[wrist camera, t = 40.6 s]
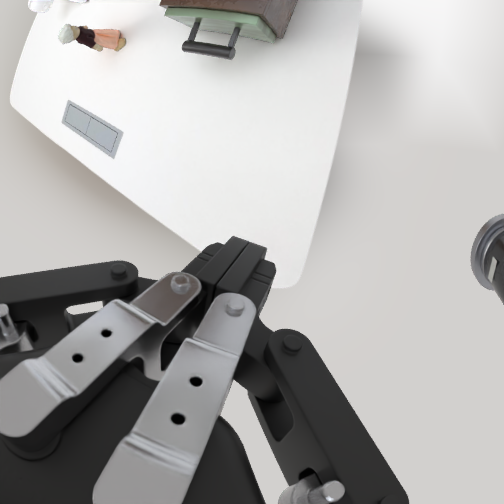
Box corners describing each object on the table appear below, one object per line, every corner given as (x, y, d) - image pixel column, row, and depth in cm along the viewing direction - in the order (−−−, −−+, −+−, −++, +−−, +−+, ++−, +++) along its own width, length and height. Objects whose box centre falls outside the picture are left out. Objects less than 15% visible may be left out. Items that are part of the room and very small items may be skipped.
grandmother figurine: (133, 38, 33) (76, 27, 22) (121, 57, 35) (64, 51, 24) (110, 24, 33) (56, 15, 22) (100, 41, 34) (45, 36, 24)
